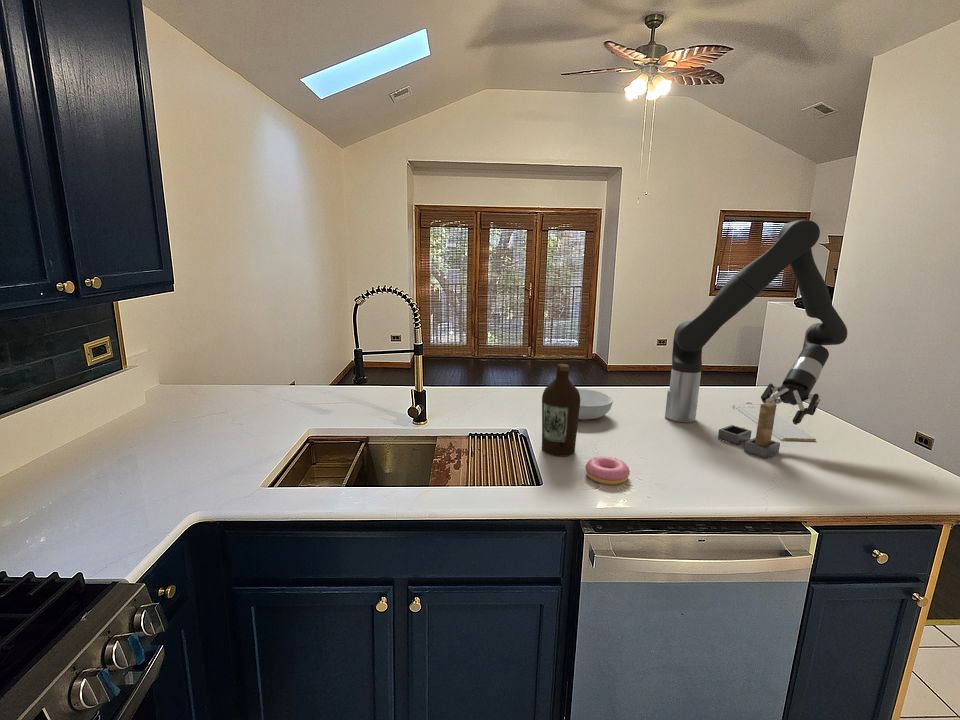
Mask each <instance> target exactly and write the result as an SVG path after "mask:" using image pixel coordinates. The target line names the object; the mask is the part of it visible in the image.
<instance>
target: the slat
mask: <svg viewBox="0 0 960 720" xmlns="http://www.w3.org/2000/svg"><path fill="white" fill-rule="evenodd" d="M760 404H761V405H760V413H759V420H758V424H757V426H756V433H755V434H756V435H755V438H756V439H755V444H757V445H760V446H763V447H767V446H770V443H771V440H772V430H773V424H774V418H775V414H776V410H777V406H778V404H773V403H769V402H766V403H763V402H762V403H760Z"/></svg>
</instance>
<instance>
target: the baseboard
mask: <svg viewBox="0 0 960 720" xmlns="http://www.w3.org/2000/svg"><path fill="white" fill-rule="evenodd" d="M761 404H762V403H759V404H757V405H760V406H761ZM745 405H746V406H745ZM745 405H743V406H742V405H738V406H736V407H735V405H732V408H733V409H735V408H736V409H735V410H737V411H738V412H740V413H741V414H742V415H744V416H745V417H747V418H748V419H749V418H750V419H749V420H751V421H752V422H754V423H755V424H756V425H758V420H759V413H760V406H755V405H753V402H746V403H745ZM747 405H748V406H747ZM750 405H753V406H750ZM772 435H773V436H774V437H775V438H777V439H778V440H779V441H788V442H790V441H792V442H794V441H795V442H816V441H817V438H816V437H813V436H812V435H811V434H809V433H808V432H805V430H803V429H801V428H799V427H798V426H797V425H795V424H793V423H792V422H790V421H788V420H787V419H785V418H784V417H781V416H780V415H779V414H777V413H775V418H774V424H773V430H772Z"/></svg>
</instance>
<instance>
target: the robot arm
mask: <svg viewBox="0 0 960 720" xmlns="http://www.w3.org/2000/svg"><path fill="white" fill-rule="evenodd" d="M820 235H821V230H820V226H819V225H818V224H817V222H815V221H813V220H809V219H799V220H798V219H797V220H793V221H789V222H787V223H786V224H785V225H783V226H782V227H781V229H780V230H779V232H778V237H777V240H776V242H775V243H774V244H773V245H772V246H771V247H770V248H769V249H767V251H766V252H764V253H762V255H760V256H758V257H757V258H756V259H754V260H753V261H751V262H750V263H748V264H747V265H745V266H744V267H742V269H740V270H739V271H737V272H736V273H735V275H733V276H732V277H731V278H730V279H729V280H728V281H727V282H726V283H725V284H724V285H723V286H722V287H721V288H720V289H719V291H717V293H716V294H715V296H714V297H713V299H712V300H711V301H710V303H709V304H708V306H707V307H706V308H705V309H704V310H703V311H702V312H700V314H699V315H698V316H696V317H695V318H693V319H692V320H687V321H683V322H681V323H680V324H678V326H677V327H676V328H675V330H674V333H673V334H674V335H673V342H672V343H673V344H672V354H671V370H670V371H671V373H670V381H669V390H667V392H666V402H665V412H664V418H666V419H668V420H670V421H673V422H679V423H686V424H687V423H688V424H689V423H694V422H696V419H697V418H696V417H697V411H698V410H697V409H698V401H699V393H700V384H701V375H702V368H703V359H702V357H703V356H702V355H703V354H702V353H703V348H704V346H705V345H706V344H707V343H708V342H709V341H710V340H711V339H712V337H713V336H714V335H715V334H716V333H717V332H718V331H719V329H721V328H722V326H723V325H725V324H726V323H727V322H728V321H729V320H730V319H732V318H734V317H735V316H737V314H738V313H739V312H740V311H742V310H743V309H744V308H745V307H746V306H747V305H749V303H751V302H752V301H753V300H754V299H755V298H756V297H757V296H758V295H760V293H762V292H763V291H764V290H765V289H766V288H767V287H769V285H770V284H771V283H772V282H773V281H774V280H775V279H776V278H777V277H778V276H779V275H780V273H781V272H783V271H784V270H785V269H786V268H787V267H789V265H790V268H791V270H792V271H793V274H794V277H795V281H796V284H797V287H798V291H799V293H800V297H801V301H802V304H803V307H804V310H805V313H806V315H807V317H809V318H812V319H817V320H820V321H821V322H818V323H817V322H816V323H812V324H811V325H810V326H809V327H807V329H806V331H805V335H804V341H803V345H802V350H801V351H800V353H799V355H798V357H797V358H796V360H795V361H794V362H793V364H792V366H791V367H790V368H789V370H788V372H787V374H786V376H785V378H784V379H783V381H782V384H781V385H780V386H775V385H774V384H773V383H768V385H767V387H765V389H764V391H763V392H762V394H761V396H760V400H761V402H762V404H763V403H766V402H769V403H773V404H777V405H779V404H781V403H783V404H789V405H792V406H798V409H799V410H797V411H796V412H795V415H794V417H793V418H792V424H793V425H795V426H797V425H798V424H801V422H802V420H803V419H804V418H805V416H806V415H810V416H813V415H815V413H816V410H817V409H818V405H819V403H820V401H821V398H820V395H819V393H814V394H811V392H812V391H813V389H814V387H815V385H816V383H817V381H818V380H819V378H820V376H821V373H822V370H823V368H824V366H825V365H826V362H827V361H828V359H829V357H830V352H829V350H828V349H827V348H826V347H825V346H835V345H837V346H838V345H842V344H843V343H845V341H846V340H847V338H848V328H847V326H846V324H845V321H843V319H842V318H841V316H840V315H839V313H838V311H837V310H836V309H835V307H834V305H833V302H832V299H831V294H830V292H829V289H828V286H827V283H826V282H825V280H824V278H823V276H822V274H821V273H820V271H819V269H818V266H817V264H816V262H815V259H814V256H813V255H814V254H813V250H812V248H813V247H814V246H815V245H816V244H817V242H818V241H819V239H820V237H821V236H820ZM807 400H809V401H810V402H809V403H808V406H807V407H805V406H804V404H803V403H804V402H805V401H807Z"/></svg>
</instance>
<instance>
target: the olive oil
mask: <svg viewBox="0 0 960 720" xmlns="http://www.w3.org/2000/svg"><path fill="white" fill-rule="evenodd" d="M556 365H557V366H556V368H557V369H556V377H555V378H554V379H553V380H552V381H551V382H550V383H549V384H548V385H547V386H546V387H545V388H544V390H543V393H542V395H541V450H542V451H543V452H544V453H545V454H548V455H550V456H554V457H568V456H571V455H573V454H574V453H575V452H576V444H577V433H578V423H579V419H578V417H579V409H580V394H579V391H578V390H577V387H576V386H575V385H574V384H573V382H572V381H571V380H570V378H569V375H570V374H569V373H570V370H569V368H570V366H569V365H568V364H566V363H558V364H556Z"/></svg>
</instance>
